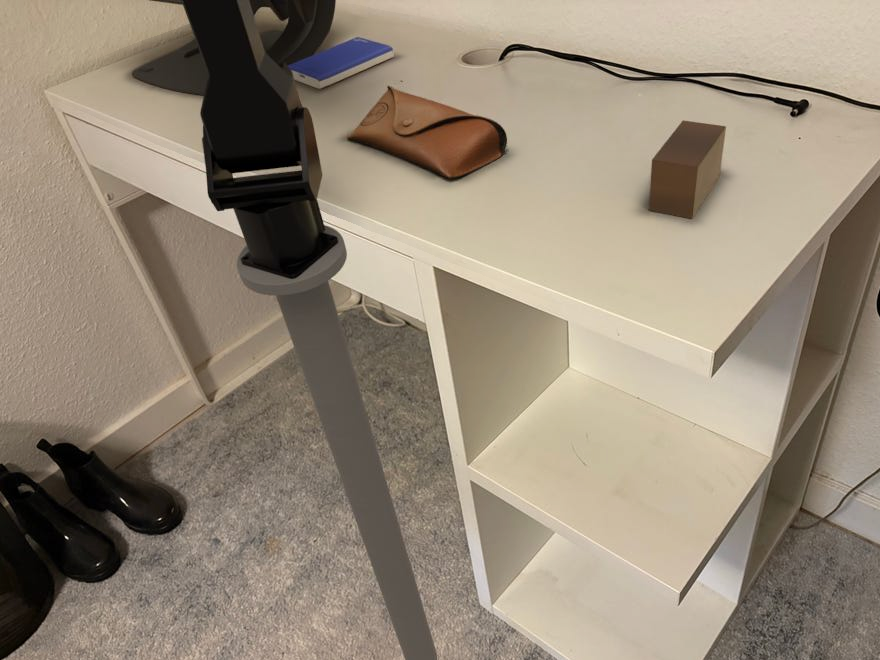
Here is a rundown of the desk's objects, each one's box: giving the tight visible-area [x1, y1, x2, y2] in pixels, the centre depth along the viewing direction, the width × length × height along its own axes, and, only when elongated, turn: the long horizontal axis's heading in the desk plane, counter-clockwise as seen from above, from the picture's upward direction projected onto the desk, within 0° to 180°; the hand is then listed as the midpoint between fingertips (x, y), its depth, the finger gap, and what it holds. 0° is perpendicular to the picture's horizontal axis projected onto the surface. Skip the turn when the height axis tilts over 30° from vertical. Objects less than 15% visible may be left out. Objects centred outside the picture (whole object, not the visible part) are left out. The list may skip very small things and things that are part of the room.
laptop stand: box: [131, 0, 337, 96], centre depth 102 cm, size 26×24×16 cm
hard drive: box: [288, 36, 395, 90], centre depth 100 cm, size 2×8×12 cm
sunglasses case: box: [346, 85, 508, 179], centre depth 79 cm, size 18×7×7 cm, turn 47°
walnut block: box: [648, 120, 727, 219], centre depth 66 cm, size 8×4×5 cm, turn 150°
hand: (296, 20), depth 78 cm, fingers open, 3 cm apart
